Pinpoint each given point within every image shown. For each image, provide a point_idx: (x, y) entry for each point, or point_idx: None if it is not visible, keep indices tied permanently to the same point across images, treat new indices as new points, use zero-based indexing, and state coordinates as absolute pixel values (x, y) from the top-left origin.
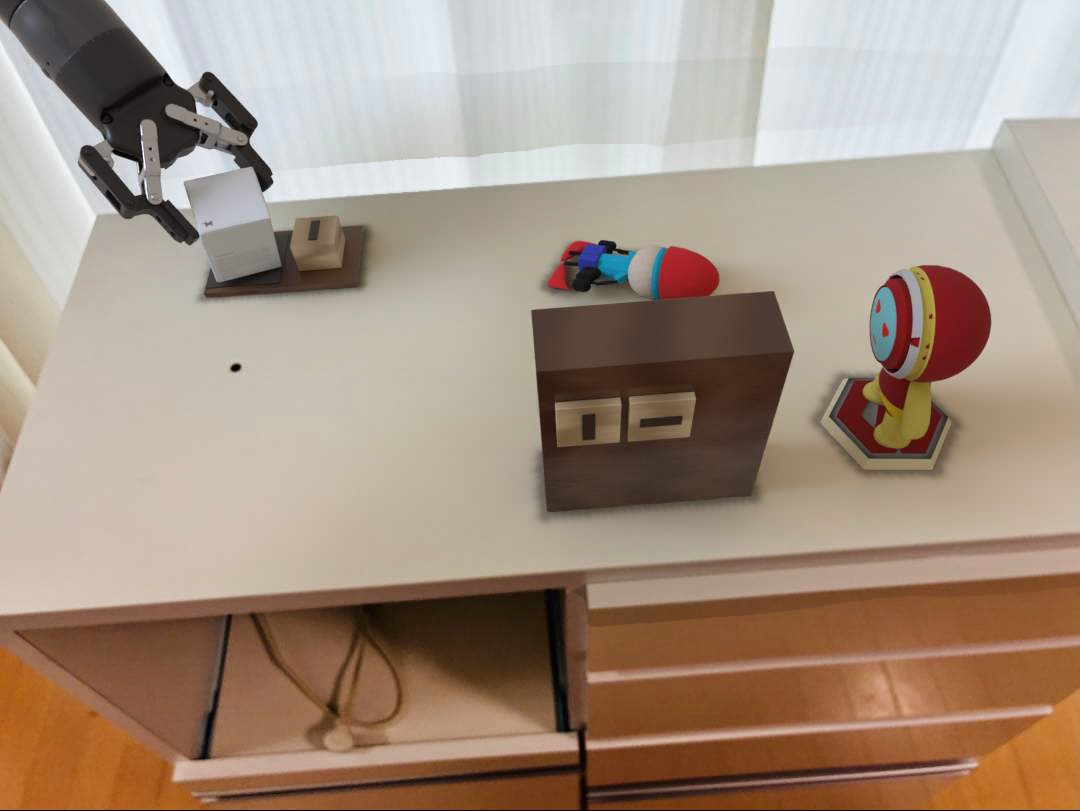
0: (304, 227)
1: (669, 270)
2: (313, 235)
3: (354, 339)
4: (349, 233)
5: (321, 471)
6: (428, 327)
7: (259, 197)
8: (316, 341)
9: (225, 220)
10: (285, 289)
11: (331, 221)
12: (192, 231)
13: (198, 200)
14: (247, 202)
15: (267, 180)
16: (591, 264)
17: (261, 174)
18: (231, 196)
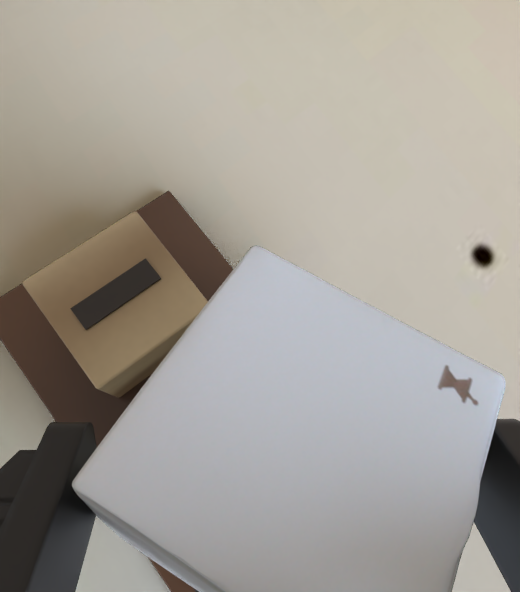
0: (120, 328)
1: None
2: (139, 275)
3: (288, 116)
4: (27, 316)
5: (509, 7)
6: (186, 27)
7: (208, 327)
8: (336, 171)
9: (391, 347)
10: None
11: (56, 278)
12: (512, 428)
13: (425, 521)
14: (263, 345)
15: (76, 424)
16: None
17: (68, 454)
18: (292, 416)
